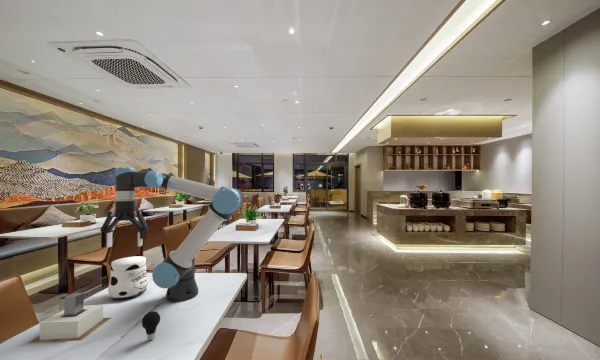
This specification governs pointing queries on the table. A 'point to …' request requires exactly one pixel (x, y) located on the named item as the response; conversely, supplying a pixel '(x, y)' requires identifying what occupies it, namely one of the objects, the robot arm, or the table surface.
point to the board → (73, 338)
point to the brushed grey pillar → (73, 304)
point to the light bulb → (151, 323)
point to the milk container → (128, 277)
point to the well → (71, 323)
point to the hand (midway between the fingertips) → (124, 246)
